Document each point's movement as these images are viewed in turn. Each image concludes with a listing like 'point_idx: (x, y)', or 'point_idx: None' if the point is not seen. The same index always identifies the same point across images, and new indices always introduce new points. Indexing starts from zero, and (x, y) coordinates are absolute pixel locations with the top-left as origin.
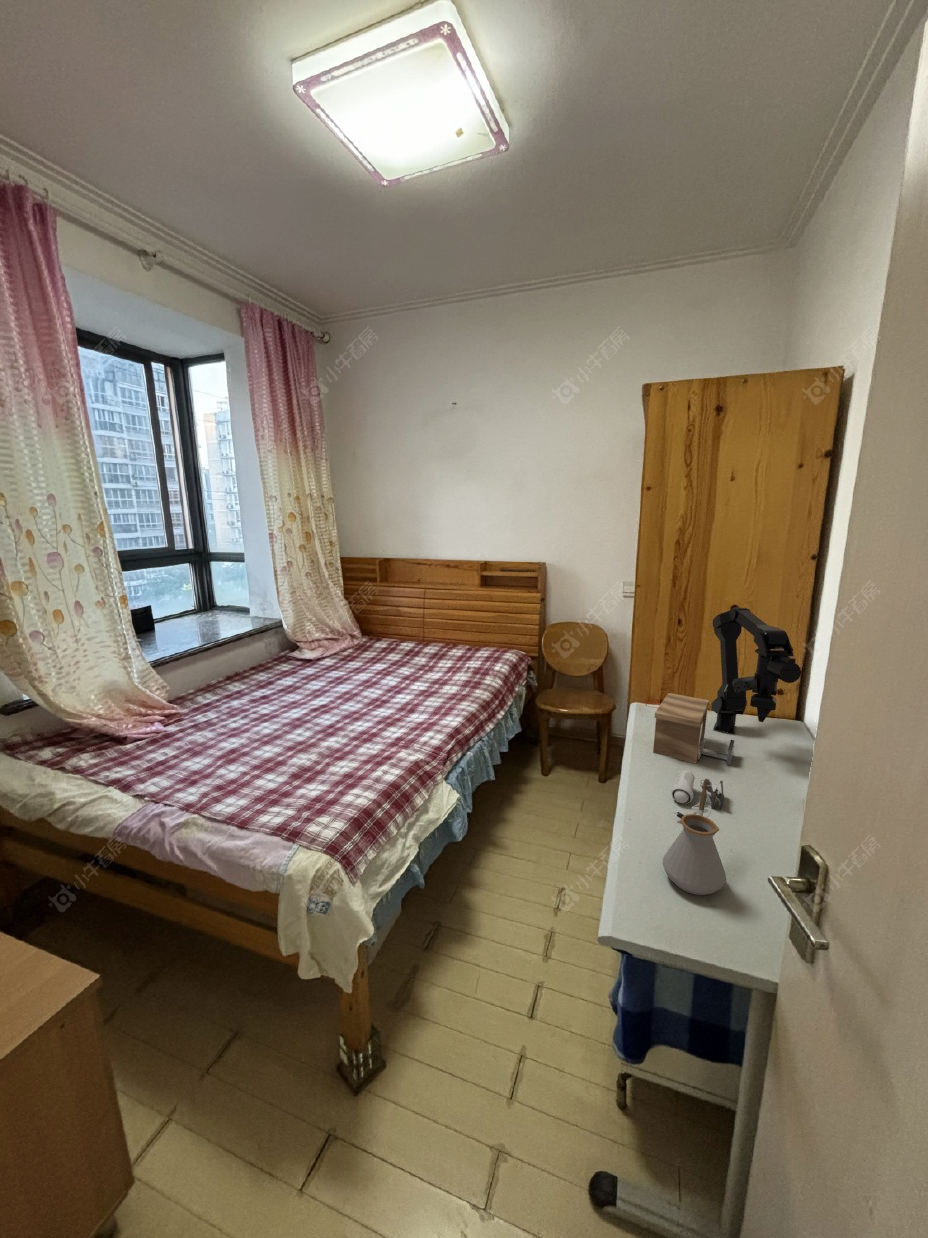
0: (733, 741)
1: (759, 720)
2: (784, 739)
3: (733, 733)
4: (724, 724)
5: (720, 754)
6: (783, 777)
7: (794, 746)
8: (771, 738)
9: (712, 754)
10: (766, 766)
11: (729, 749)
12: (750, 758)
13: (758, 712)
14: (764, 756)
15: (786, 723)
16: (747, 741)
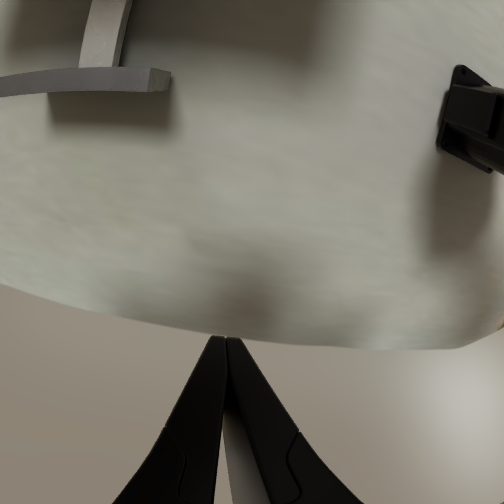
0: (122, 87)
1: (206, 349)
2: (411, 310)
3: (439, 141)
4: (471, 106)
5: (91, 35)
6: (70, 273)
7: (362, 332)
8: (417, 277)
9: (95, 2)
10: (125, 230)
11: (3, 83)
12: (177, 172)
13: (163, 428)
14: (231, 234)
15: (493, 315)
16: (381, 186)
